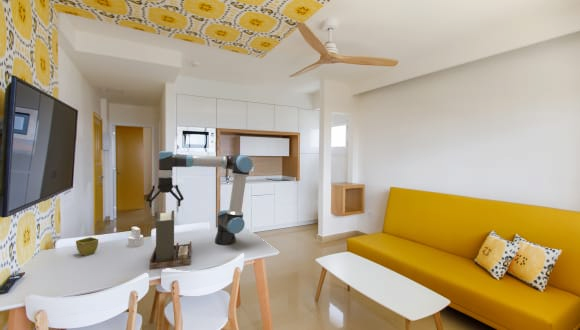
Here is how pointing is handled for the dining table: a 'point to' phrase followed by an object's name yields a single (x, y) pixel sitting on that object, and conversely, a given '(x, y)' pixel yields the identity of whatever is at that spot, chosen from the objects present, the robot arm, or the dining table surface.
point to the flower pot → (87, 246)
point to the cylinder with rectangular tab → (135, 238)
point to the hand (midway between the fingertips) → (165, 212)
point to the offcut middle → (183, 258)
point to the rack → (171, 263)
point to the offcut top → (183, 252)
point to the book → (165, 237)
